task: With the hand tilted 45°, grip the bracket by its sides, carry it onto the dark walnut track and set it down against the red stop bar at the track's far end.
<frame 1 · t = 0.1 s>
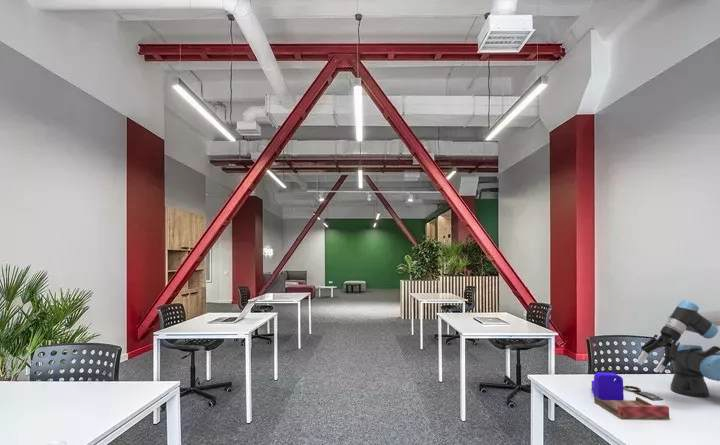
hand: (648, 367, 199), 15 cm above the table, tool tilted 35°, fingers open, 13 cm apart
bracket: (602, 395, 207), on the table
keychain: (641, 395, 209), on the table
walnut stop track: (629, 410, 186), on the table
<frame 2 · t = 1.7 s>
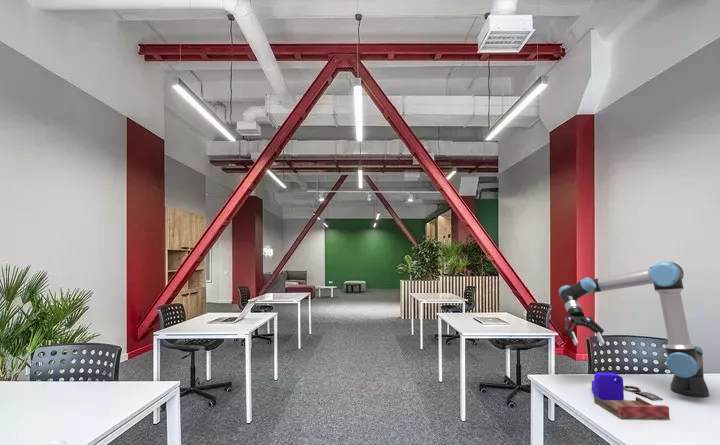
hand: (589, 344, 218), 22 cm above the table, tool tilted 45°, fingers open, 13 cm apart
nothing on the table moved.
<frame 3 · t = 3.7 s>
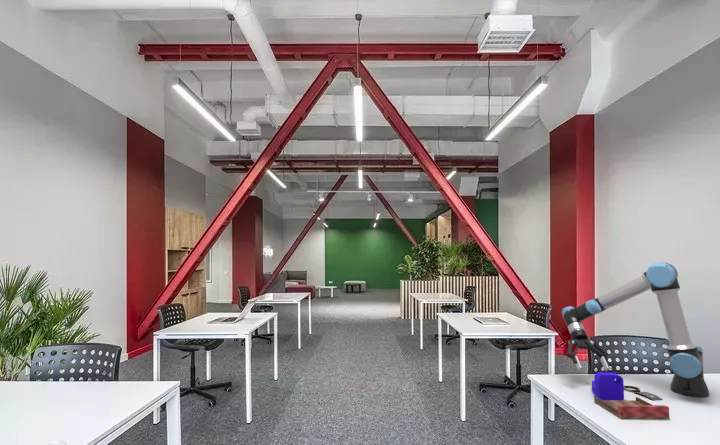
hand: (593, 369, 213), 11 cm above the table, tool tilted 45°, fingers open, 13 cm apart
nothing on the table moved.
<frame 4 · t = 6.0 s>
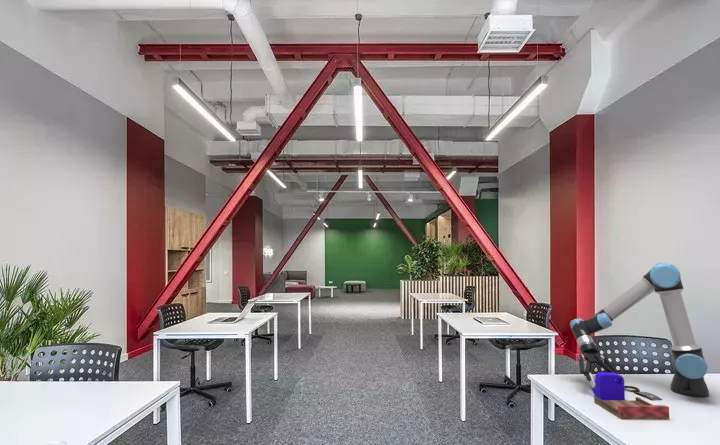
hand: (605, 386, 204), 5 cm above the table, tool tilted 45°, fingers closed on bracket, 10 cm apart
bracket: (603, 395, 207), on the table, touching gripper
everything else where it was.
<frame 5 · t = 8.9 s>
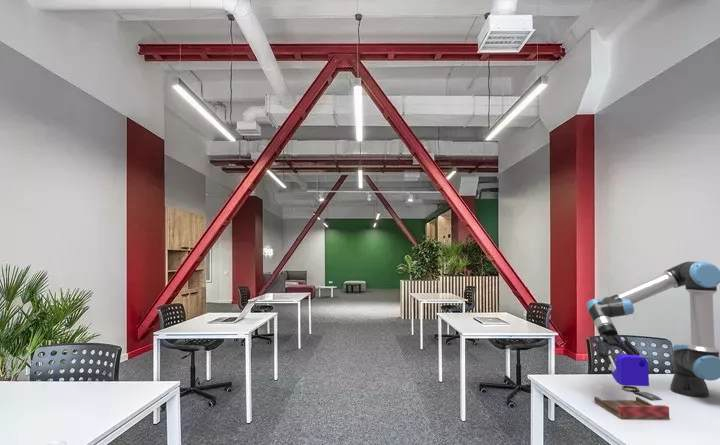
hand: (627, 370, 187), 17 cm above the table, tool tilted 45°, fingers closed on bracket, 10 cm apart
bracket: (624, 380, 190), point 12 cm above the table, touching gripper
everything else where it was.
when the fingers open (7 cm above the table, at t = 11.8 s): bracket drops 1 cm, resting on walnut stop track.
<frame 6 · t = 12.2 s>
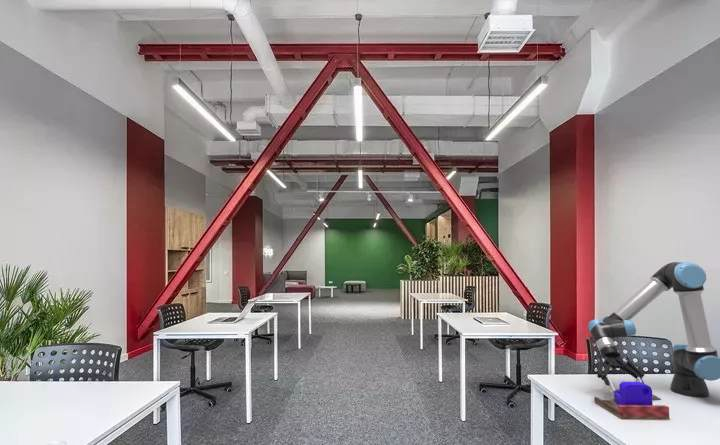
hand: (629, 392, 186), 8 cm above the table, tool tilted 45°, fingers open, 13 cm apart
bracket: (627, 406, 188), point 1 cm above the table, touching walnut stop track
everything else where it was.
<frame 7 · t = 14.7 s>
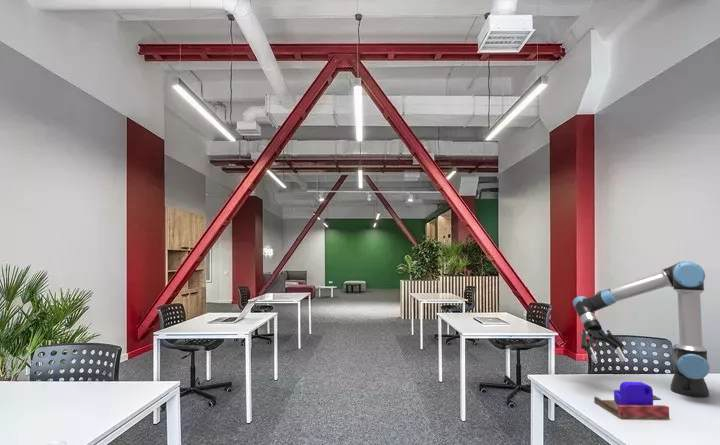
hand: (609, 360, 203), 17 cm above the table, tool tilted 45°, fingers open, 13 cm apart
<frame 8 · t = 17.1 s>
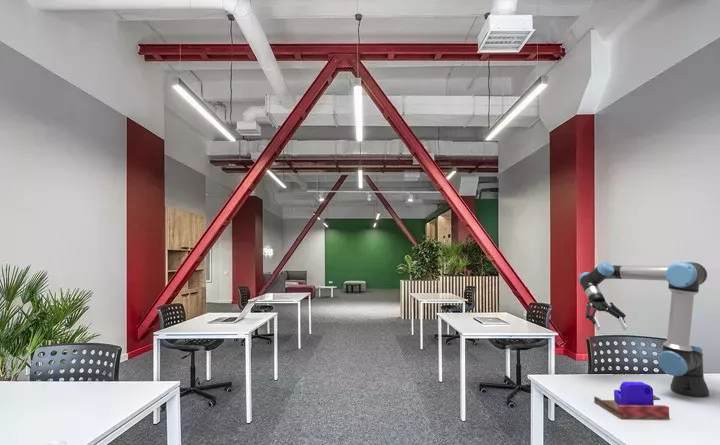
hand: (612, 328, 219), 30 cm above the table, tool tilted 45°, fingers open, 13 cm apart
at the end: bracket inside the target area (0.9 cm from its centre), point 0.8 cm above the table; bracket tilted 0°; the gripper is holding nothing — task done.
